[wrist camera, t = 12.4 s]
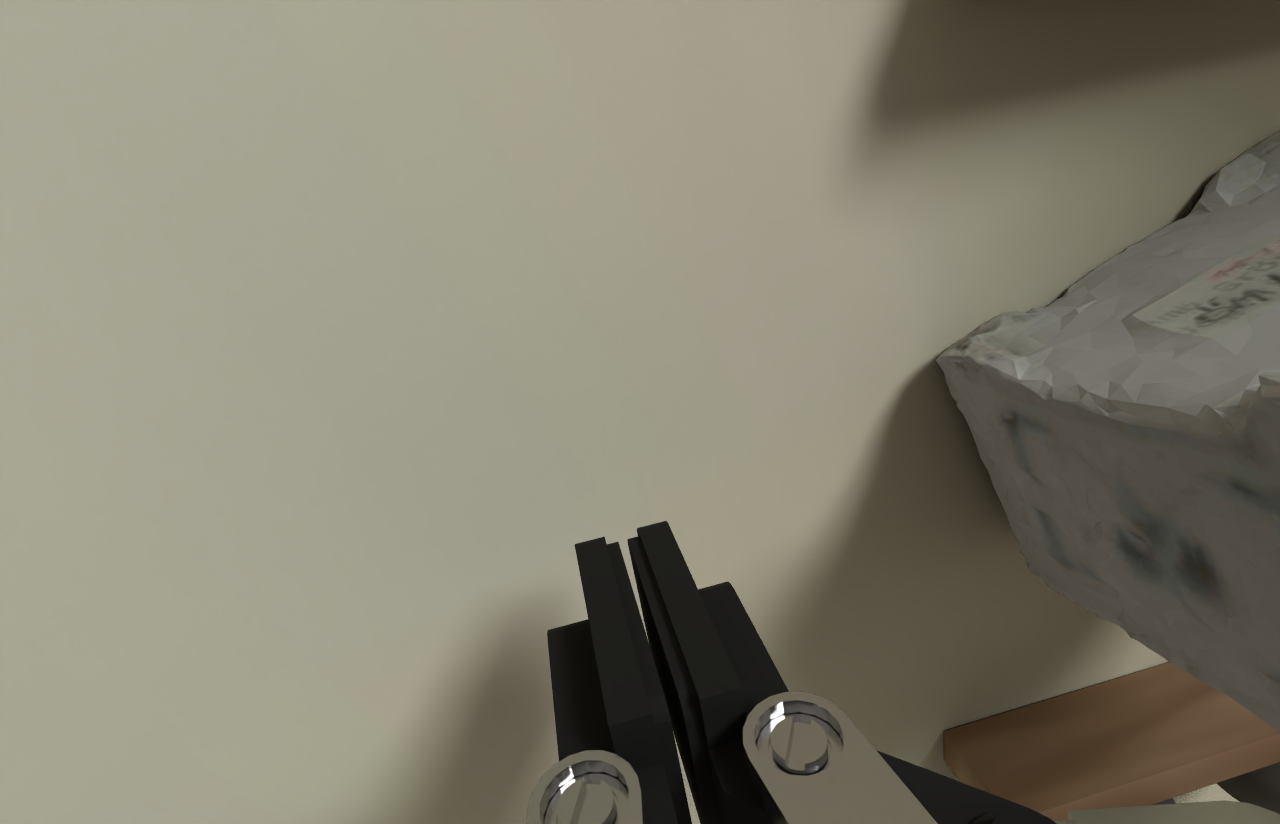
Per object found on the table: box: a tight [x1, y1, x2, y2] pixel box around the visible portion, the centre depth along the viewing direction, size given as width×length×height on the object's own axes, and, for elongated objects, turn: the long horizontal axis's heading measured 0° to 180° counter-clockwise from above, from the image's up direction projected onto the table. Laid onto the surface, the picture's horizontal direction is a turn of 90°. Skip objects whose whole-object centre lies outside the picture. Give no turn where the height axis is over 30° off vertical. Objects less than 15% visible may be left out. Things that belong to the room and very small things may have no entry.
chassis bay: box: [944, 662, 1280, 821], centre depth 15 cm, size 26×14×4 cm, turn 10°
